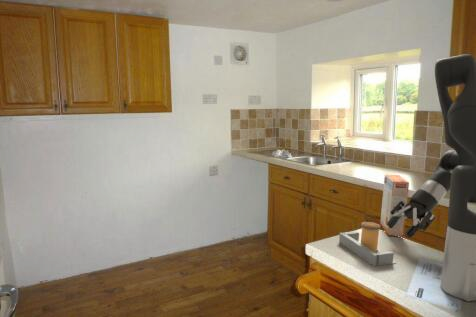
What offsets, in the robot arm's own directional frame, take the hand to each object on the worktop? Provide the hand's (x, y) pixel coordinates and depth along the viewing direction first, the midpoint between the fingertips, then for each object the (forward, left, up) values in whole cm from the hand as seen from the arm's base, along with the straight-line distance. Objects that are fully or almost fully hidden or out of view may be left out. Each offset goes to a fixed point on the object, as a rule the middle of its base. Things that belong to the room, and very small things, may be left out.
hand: (397, 231), depth 115 cm
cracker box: (+15, -11, -6) cm, 20 cm away
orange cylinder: (0, +11, -6) cm, 13 cm away
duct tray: (0, +12, -6) cm, 14 cm away
